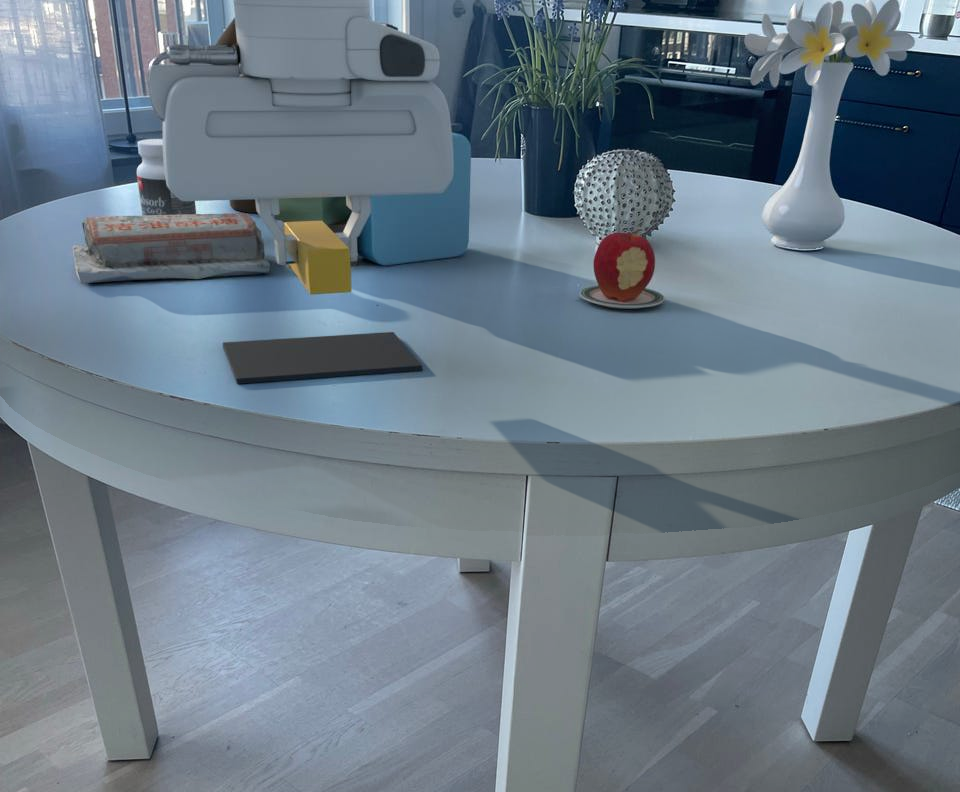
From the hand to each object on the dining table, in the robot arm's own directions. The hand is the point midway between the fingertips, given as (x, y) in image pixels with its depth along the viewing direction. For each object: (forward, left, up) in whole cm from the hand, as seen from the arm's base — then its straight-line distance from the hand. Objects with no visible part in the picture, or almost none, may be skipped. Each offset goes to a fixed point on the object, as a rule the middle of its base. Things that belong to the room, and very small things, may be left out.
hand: (317, 261), depth 75 cm
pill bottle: (-8, +44, -8) cm, 45 cm away
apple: (+31, +11, -8) cm, 34 cm away
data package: (+16, +32, -8) cm, 37 cm away
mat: (0, 0, -7) cm, 7 cm away
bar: (0, 0, -1) cm, 1 cm away
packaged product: (-9, +31, -8) cm, 34 cm away
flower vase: (+62, +30, -8) cm, 69 cm away
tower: (+6, +33, -7) cm, 34 cm away
